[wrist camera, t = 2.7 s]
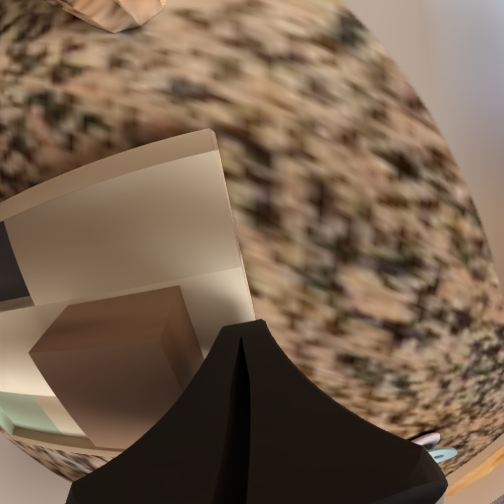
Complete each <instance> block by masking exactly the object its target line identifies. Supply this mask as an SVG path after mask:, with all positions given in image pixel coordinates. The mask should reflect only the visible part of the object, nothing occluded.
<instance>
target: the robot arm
mask: <svg viewBox="0 0 504 504" xmlns="http://www.w3.org/2000/svg"><path fill="white" fill-rule="evenodd" d="M447 487H448V482H447V480H446V478H445V475H444V473H443V472H442V470H441V468H440V467H439V465H438V464H437V463H436V461H435V460H434V459H433V457H432V456H431V455H430V454H429V453H428V451H427V450H426V449H425V448H424V447H423V446H422V445H419V444H416V443H414V442H411V441H408V440H406V439H403V438H401V437H399V436H396V435H394V434H392V433H389V432H387V431H385V430H383V429H381V428H379V427H377V426H375V425H373V424H371V423H369V422H368V421H366V420H364V419H362V418H361V417H359V416H358V415H356V414H354V413H353V412H351V411H350V410H348V409H346V408H345V407H343V406H342V405H340V404H339V403H337V402H336V401H334V400H333V399H332V398H331V397H329V396H328V395H327V394H325V393H324V392H323V391H322V390H320V389H319V388H318V387H317V386H316V385H315V384H313V383H312V382H311V381H310V380H309V379H308V378H307V377H306V376H305V375H304V374H303V373H302V372H301V371H300V370H299V369H298V368H297V367H296V366H295V365H294V364H293V363H292V361H291V360H290V359H289V358H288V357H287V355H286V354H285V353H284V352H283V350H282V349H281V348H280V347H279V345H278V344H277V342H276V341H275V339H274V338H273V336H272V335H271V333H270V331H269V329H268V327H267V325H266V321H264V320H262V319H259V320H254V321H249V322H243V323H238V324H232V325H227V326H223V327H222V328H221V330H220V332H219V334H218V336H217V338H216V340H215V342H214V344H213V345H212V347H211V349H210V351H209V353H208V355H207V356H206V358H205V360H204V361H203V363H202V365H201V366H200V368H199V370H198V371H197V373H196V374H195V376H194V377H193V379H192V380H191V382H190V383H189V384H188V386H187V387H186V389H185V390H184V392H183V393H182V394H181V396H180V397H179V398H178V399H177V401H176V402H175V403H174V404H173V405H172V407H171V408H170V409H169V410H168V411H167V412H166V414H165V415H164V416H163V417H162V418H161V419H160V420H159V421H158V422H157V423H156V424H155V425H154V426H152V427H151V428H150V429H149V430H148V431H147V432H146V433H145V434H144V435H143V436H142V437H141V438H140V439H138V440H137V441H136V442H135V443H134V444H132V445H131V446H130V447H129V448H127V449H126V450H125V451H123V452H122V453H121V454H119V455H118V456H116V457H115V458H114V459H112V460H111V461H109V462H108V463H106V464H105V465H103V466H101V467H100V468H98V469H96V470H95V471H93V472H91V473H89V474H88V475H86V476H84V477H82V478H81V479H79V480H77V481H75V482H73V483H72V485H71V488H70V491H69V494H68V497H67V500H66V504H436V503H437V501H438V500H439V499H440V498H441V497H442V496H443V494H444V493H445V491H446V489H447ZM491 504H504V495H502V496H501V497H500V498H498V499H497V500H495V501H494V502H492V503H491Z"/></svg>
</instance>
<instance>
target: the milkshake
mask: <svg viewBox="0 0 504 504" xmlns="http://www.w3.org/2000/svg"><path fill="white" fill-rule="evenodd" d="M44 1H47V2H49V3H51V4H53V5H55V6H57V7H59V8H61V9H63V10H65V11H67V12H69V13H71V14H73V15H74V16H76V17H78V18H80V19H82V20H84V21H86V22H87V23H89V24H91V25H93V26H95V27H98V28H101V29H104V30H107V31H110V32H112V33H117V32H120V31H124V30H128V29H132V28H136V27H141V26H142V25H143V24H144V23H146V22H147V21H148V20H149V19H151V18H152V17H153V16H154V15H156V14H157V13H158V12H160V11H161V10H163V8H164V6H165V3H166V1H167V0H44Z"/></svg>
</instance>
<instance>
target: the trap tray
mask: <svg viewBox="0 0 504 504" xmlns="http://www.w3.org/2000/svg"><path fill="white" fill-rule="evenodd" d="M178 285H179V286H180V290H181V293H182V296H183V299H184V302H185V305H186V308H187V311H188V314H189V317H190V320H191V323H192V325H193V328H194V331H195V334H196V337H197V340H198V342H199V345H200V348H201V351H202V353H203V356H204V359H205V358H206V356H207V355H208V353H209V351H210V349H211V347H212V345H213V344H214V342H215V340H216V338H217V336H218V334H219V332H220V330H221V328H222V327H223V326H227V325H232V324H238V323H243V322H249V321H254V320H256V318H255V313H254V309H253V305H252V300H251V296H250V291H249V287H248V282H247V278H246V274H245V269H244V265H243V260H242V256H241V251H240V247H239V242H238V237H237V233H236V228H235V224H234V219H233V215H232V210H231V205H230V201H229V196H228V192H227V187H226V182H225V178H224V173H223V168H222V164H221V159H220V154H219V149H218V145H217V140H216V135H215V132H214V131H212V130H211V129H210V128H207V129H203V130H199V131H194V132H190V133H186V134H182V135H179V136H175V137H171V138H167V139H164V140H160V141H157V142H153V143H150V144H146V145H143V146H140V147H137V148H133V149H130V150H127V151H124V152H121V153H118V154H115V155H112V156H109V157H106V158H103V159H100V160H98V161H95V162H92V163H89V164H87V165H84V166H82V167H79V168H76V169H74V170H71V171H69V172H66V173H64V174H61V175H59V176H57V177H54V178H52V179H49V180H47V181H45V182H43V183H40V184H38V185H36V186H34V187H31V188H29V189H27V190H25V191H23V192H21V193H19V194H17V195H15V196H13V197H11V198H9V199H7V200H5V201H3V202H1V203H0V426H1V427H2V428H3V429H4V430H5V431H6V433H7V434H8V435H9V436H10V437H11V438H12V439H13V440H17V441H21V442H25V443H29V444H33V445H37V446H42V447H46V448H51V449H57V450H62V451H68V452H74V453H81V454H89V455H97V456H107V457H116V456H118V455H119V454H121V453H122V452H123V451H125V450H126V449H119V448H105V447H96V446H95V445H94V444H93V443H92V441H91V440H90V439H89V438H88V437H87V436H86V434H85V433H84V432H83V431H82V430H81V428H80V427H79V426H78V425H77V423H76V422H75V421H74V420H73V418H72V417H71V416H70V415H69V413H68V412H67V411H66V409H65V408H64V407H63V405H62V404H61V402H60V401H59V400H58V398H57V397H56V395H55V394H54V393H53V391H52V390H51V388H50V387H49V385H48V384H47V382H46V381H45V379H44V378H43V376H42V375H41V373H40V371H39V370H38V368H37V367H36V365H35V363H34V362H33V360H32V358H31V357H30V355H29V353H28V352H29V351H30V350H31V349H32V347H33V346H34V345H35V344H36V342H37V341H38V340H39V339H40V337H41V336H42V335H43V334H44V333H45V331H46V330H47V329H48V328H49V327H50V325H51V324H52V323H53V322H54V321H55V320H56V318H57V317H58V316H59V315H60V314H61V313H62V312H63V310H64V309H65V308H66V307H67V306H68V305H72V304H78V303H84V302H90V301H96V300H101V299H107V298H112V297H118V296H124V295H129V294H135V293H140V292H145V291H151V290H156V289H162V288H167V287H172V286H178Z"/></svg>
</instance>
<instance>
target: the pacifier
mask: <svg viewBox="0 0 504 504" xmlns="http://www.w3.org/2000/svg"><path fill="white" fill-rule="evenodd" d="M439 439H440V434H438V433H429V434H426V435H423V436H421V437H419V438H416V439H414V440H412V441H411V442H414V443H416V444H419V445H423V447H424V448H425V449H426V450H427V451H428V453H429V454H430V455H431V456H432V457H433V459H434V460H435V461H436V463H438V462H441V461H444V460H447V459H449V458H452V457H453V456H455V455H457V454H458V452H457V451H456V449H454V448H449V447H442V448H435V449H433V448H434V447H435V445H436V444H437V443H438V441H439ZM425 444H427V445H425ZM437 455H439V456H437ZM445 500H446V492H445V493H444V494H443V496H442V497H441V498H440V499H439V500H438V501H437V503H436V504H444V503H445Z"/></svg>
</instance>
